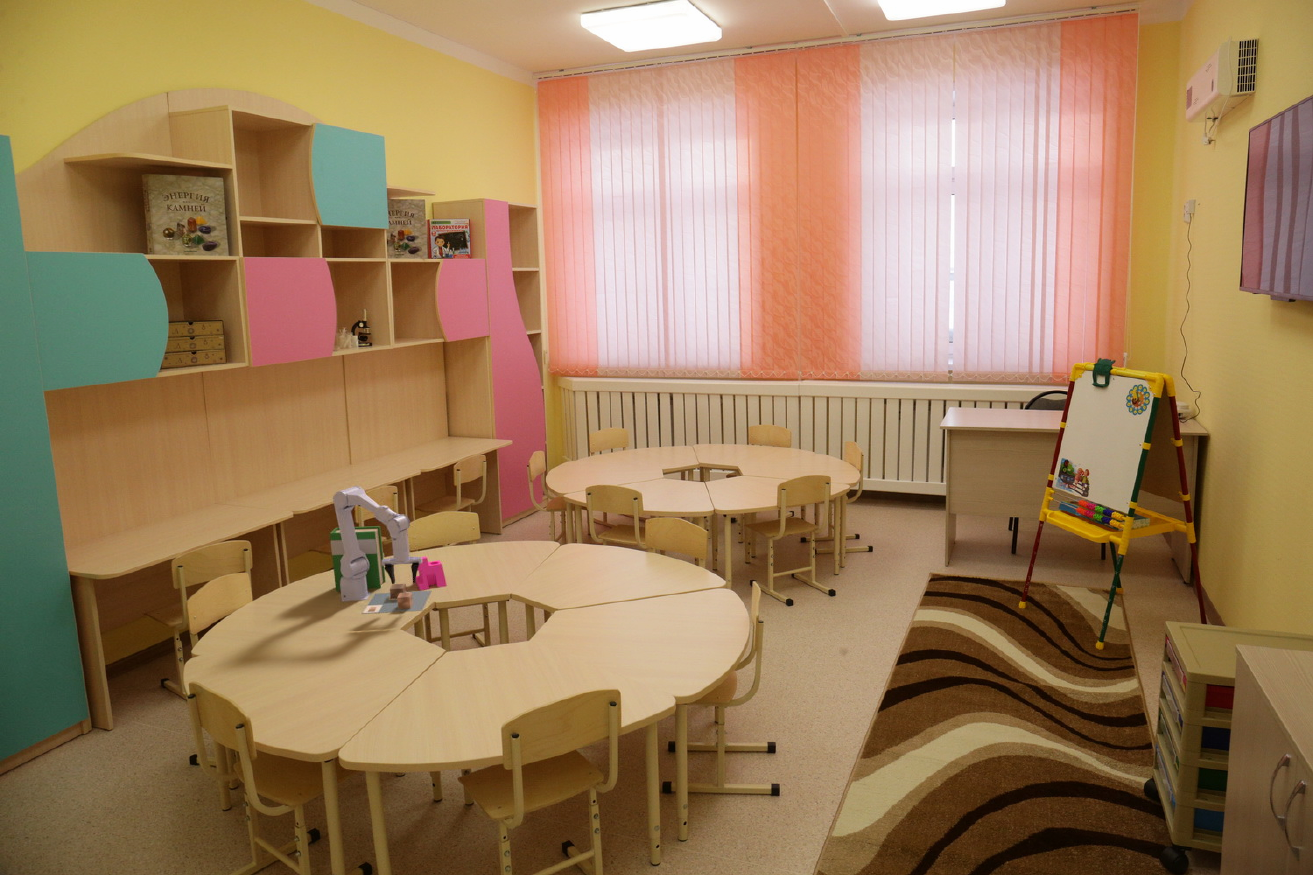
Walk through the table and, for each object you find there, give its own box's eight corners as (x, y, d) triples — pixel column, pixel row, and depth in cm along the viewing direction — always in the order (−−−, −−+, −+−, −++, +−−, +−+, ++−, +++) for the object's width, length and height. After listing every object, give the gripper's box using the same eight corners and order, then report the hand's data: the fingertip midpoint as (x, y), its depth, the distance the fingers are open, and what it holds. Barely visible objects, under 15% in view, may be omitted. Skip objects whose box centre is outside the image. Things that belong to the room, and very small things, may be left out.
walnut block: (390, 598, 343) (389, 589, 342) (393, 593, 348) (392, 584, 347) (403, 598, 343) (402, 588, 342) (406, 593, 348) (405, 583, 347)
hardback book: (385, 582, 362) (380, 526, 357) (380, 589, 354) (374, 531, 350) (342, 584, 362) (336, 527, 357) (336, 590, 354) (329, 533, 350)
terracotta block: (398, 608, 332) (397, 597, 332) (400, 604, 337) (399, 593, 336) (410, 608, 333) (409, 596, 332) (413, 603, 337) (411, 592, 336)
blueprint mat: (361, 615, 329) (361, 613, 329) (375, 594, 349) (375, 593, 349) (422, 611, 330) (421, 610, 330) (431, 591, 350) (431, 590, 350)
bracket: (415, 582, 361) (413, 558, 359) (441, 577, 365) (438, 554, 363) (420, 592, 350) (418, 567, 348) (446, 587, 354) (444, 562, 352)
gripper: (378, 552, 326) (381, 587, 329) (418, 550, 327) (421, 585, 330) (382, 546, 333) (386, 580, 336) (421, 544, 334) (425, 578, 337)
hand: (404, 582), depth 333 cm, fingers open, 7 cm apart
